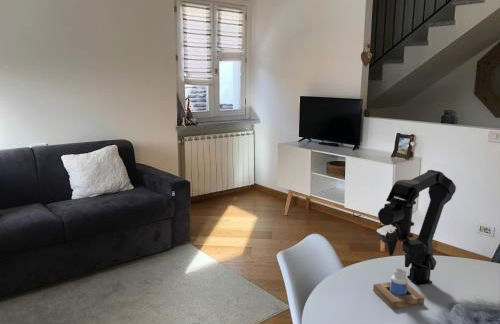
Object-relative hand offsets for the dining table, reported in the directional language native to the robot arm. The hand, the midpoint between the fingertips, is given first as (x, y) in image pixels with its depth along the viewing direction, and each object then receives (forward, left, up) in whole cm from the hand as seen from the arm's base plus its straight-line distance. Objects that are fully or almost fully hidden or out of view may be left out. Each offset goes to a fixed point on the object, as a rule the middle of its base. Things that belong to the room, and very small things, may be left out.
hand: (398, 261), depth 150 cm
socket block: (+1, +2, -12) cm, 13 cm away
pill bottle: (+1, +2, -13) cm, 13 cm away
